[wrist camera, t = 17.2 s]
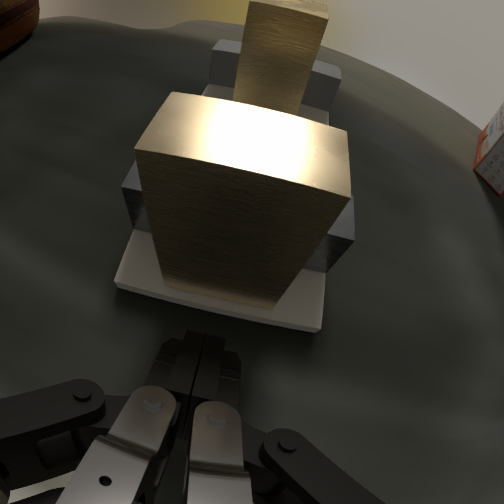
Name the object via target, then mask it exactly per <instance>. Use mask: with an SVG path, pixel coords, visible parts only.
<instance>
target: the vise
mask: <svg viewBox="0 0 504 504" xmlns="http://www.w3.org/2000/svg"><path fill="white" fill-rule="evenodd" d="M241 45H242V42H236V41H230V40H223V39H220V40H219V41H218V43H217V44H216V45H215V46H214V47H213V49H212V54H211V63H210V73H209V84H208V85H207V87H206V89H205V90H204V92H203V94H202V95H201V96H205V97H211V98H217V99H222V100H228V101H233V94H234V88H235V81H236V75H237V69H238V63H239V57H240V51H241ZM341 80H342V79H341V73H340V67H337V66H334V65H331V64H328V63H325V62H322V61H318V60H315V61H314V64H313V67H312V70H311V73H310V76H309V79H308V82H307V85H306V88H305V91H304V94H303V97H302V100H301V103H300V106H299V109H298V112H297V115H296V116H297V117H301V118H304V119H308V120H311V121H315V122H318V123H321V124H325V125H328V126H329V119H328V111H329V109H330V107H331V104H332V102H333V99H334V97H335V94H336V92H337V90H338V87H339V85H340V82H341ZM325 274H326V273H323V272H319V271H314V270H310V269H306V268H302V269H301V271H300V272H299V274H298V275H297V276H296V278H295V279H294V281H293V282H292V283H291V285H290V286H289V287H288V289H287V290H286V291H285V293H284V294H283V296H282V297H281V298H280V300H279V301H278V302H277V304H276V305H275V306H274V308H273V309H272V310H268V309H264V308H259V307H254V306H249V305H245V304H240V303H236V302H231V301H227V300H222V299H218V298H214V297H210V296H205V295H201V294H197V293H193V292H189V291H185V290H180V289H176V288H172V287H169V286H165V284H164V281H163V277H162V273H161V270H160V266H159V262H158V258H157V254H156V250H155V246H154V242H153V238H152V234H151V233H150V232H145V231H141V230H137V229H134V230H133V233H132V235H131V238H130V240H129V243H128V245H127V248H126V250H125V253H124V255H123V258H122V260H121V263H120V266H119V268H118V271H117V274H116V276H115V279H114V282H115V284H116V285H117V287H118V288H121V289H125V290H128V291H132V292H136V293H139V294H143V295H146V296H150V297H154V298H158V299H161V300H165V301H169V302H173V303H177V304H181V305H185V306H189V307H193V308H197V309H201V310H206V311H210V312H214V313H219V314H223V315H227V316H232V317H237V318H241V319H246V320H251V321H255V322H260V323H265V324H270V325H275V326H280V327H286V328H291V329H296V330H302V331H307V332H313V333H315V332H317V331H318V330H320V329H321V324H322V313H323V301H324V288H325Z"/></svg>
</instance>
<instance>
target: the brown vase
mask: <svg viewBox="0 0 504 504" xmlns="http://www.w3.org/2000/svg"><path fill="white" fill-rule="evenodd" d="M39 9H40V8H39V0H0V53H2V52H4V51H6V50H7V49H9V48H10V47H12V46H14V45H15V44H17V43H19V42H21V41H22V40H23V39H24V38H25V37H27V36H28V35H29V34H30V33H31V32H32V31H33V30H34V29H35V27H36V26H37V24H38V21H39Z"/></svg>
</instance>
